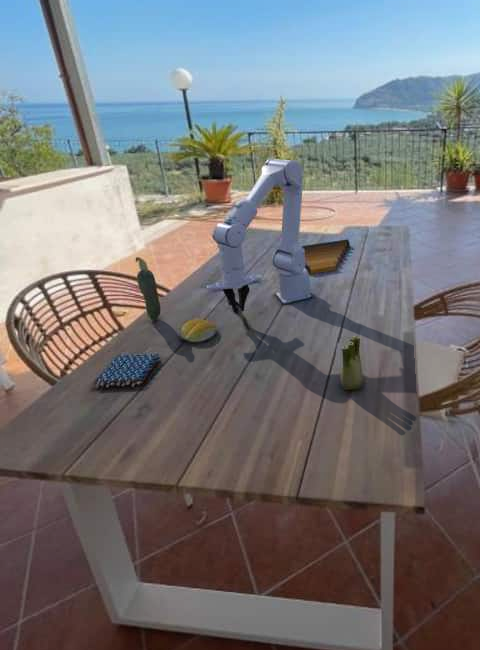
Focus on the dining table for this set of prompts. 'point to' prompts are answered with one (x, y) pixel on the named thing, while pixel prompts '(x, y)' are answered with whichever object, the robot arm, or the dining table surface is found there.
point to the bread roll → (198, 330)
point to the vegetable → (148, 289)
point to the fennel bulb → (351, 365)
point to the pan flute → (324, 255)
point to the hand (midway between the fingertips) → (238, 310)
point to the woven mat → (127, 370)
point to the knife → (240, 314)
